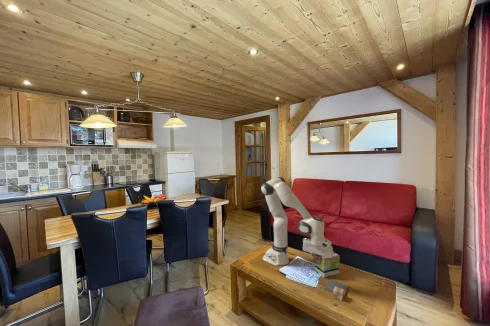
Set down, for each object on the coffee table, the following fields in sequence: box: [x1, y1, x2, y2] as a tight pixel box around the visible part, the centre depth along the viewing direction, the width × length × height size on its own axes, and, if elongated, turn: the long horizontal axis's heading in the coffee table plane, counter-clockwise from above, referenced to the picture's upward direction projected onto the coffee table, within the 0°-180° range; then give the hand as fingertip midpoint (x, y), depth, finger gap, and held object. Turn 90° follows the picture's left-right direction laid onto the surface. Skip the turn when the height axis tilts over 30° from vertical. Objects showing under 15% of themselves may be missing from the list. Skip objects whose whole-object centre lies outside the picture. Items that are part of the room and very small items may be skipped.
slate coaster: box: [324, 279, 348, 297], centre depth 145 cm, size 12×12×1 cm
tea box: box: [314, 251, 341, 278], centre depth 163 cm, size 15×10×15 cm
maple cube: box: [332, 287, 344, 302], centre depth 136 cm, size 5×5×5 cm
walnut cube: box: [312, 254, 322, 265], centre depth 148 cm, size 5×5×5 cm
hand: (317, 260), depth 148 cm, fingers closed on walnut cube, 5 cm apart
